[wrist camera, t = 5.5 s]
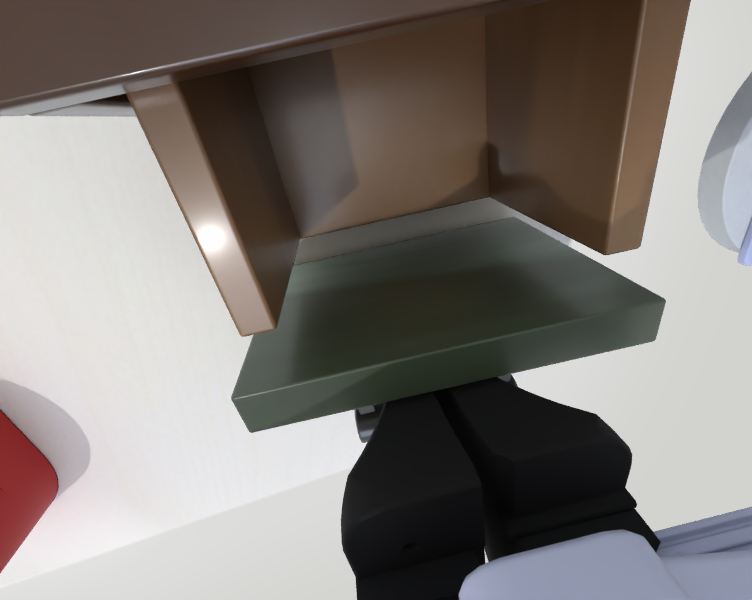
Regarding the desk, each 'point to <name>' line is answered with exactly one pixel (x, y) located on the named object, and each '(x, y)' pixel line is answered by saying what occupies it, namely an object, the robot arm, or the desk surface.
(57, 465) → the desk surface
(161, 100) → the drawer
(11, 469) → the lever
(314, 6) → the cabinet
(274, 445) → the desk surface
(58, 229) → the desk surface
